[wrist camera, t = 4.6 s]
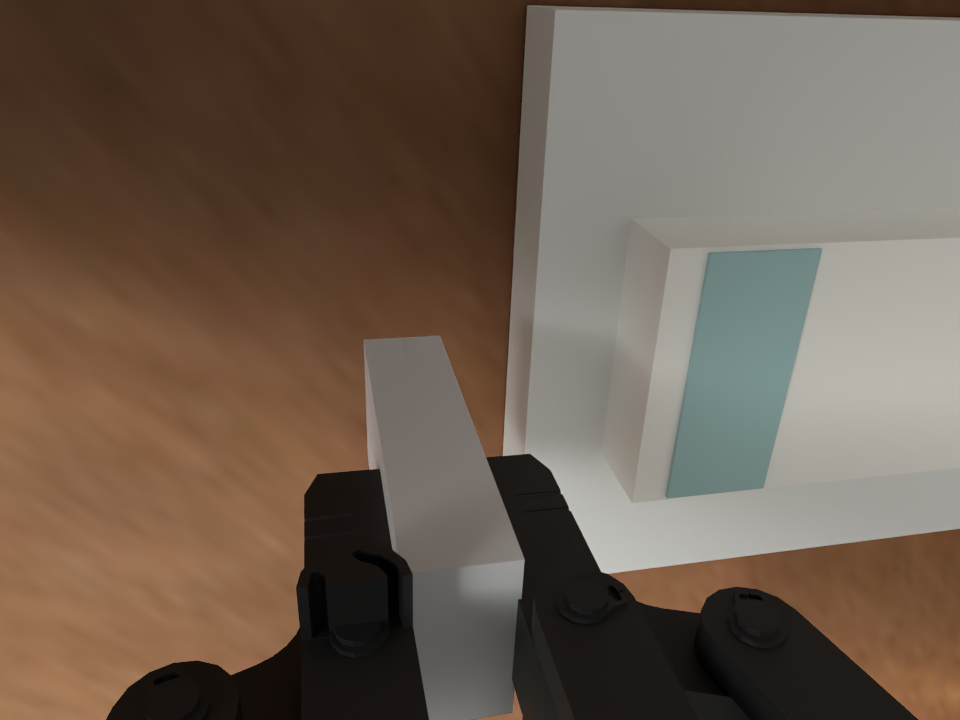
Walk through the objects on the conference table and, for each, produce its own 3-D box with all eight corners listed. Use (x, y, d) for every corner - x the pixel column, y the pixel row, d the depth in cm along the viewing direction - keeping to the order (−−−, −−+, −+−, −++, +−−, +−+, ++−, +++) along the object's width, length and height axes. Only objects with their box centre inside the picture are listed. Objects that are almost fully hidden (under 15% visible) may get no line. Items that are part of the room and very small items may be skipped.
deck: (527, 5, 16) (555, 9, 14) (1115, 22, 19) (1199, 27, 17) (498, 536, 22) (515, 585, 20) (940, 486, 25) (988, 524, 23)
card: (630, 218, 16) (672, 250, 14) (987, 208, 18) (1066, 235, 16) (601, 453, 19) (633, 505, 17) (913, 424, 21) (973, 468, 19)
